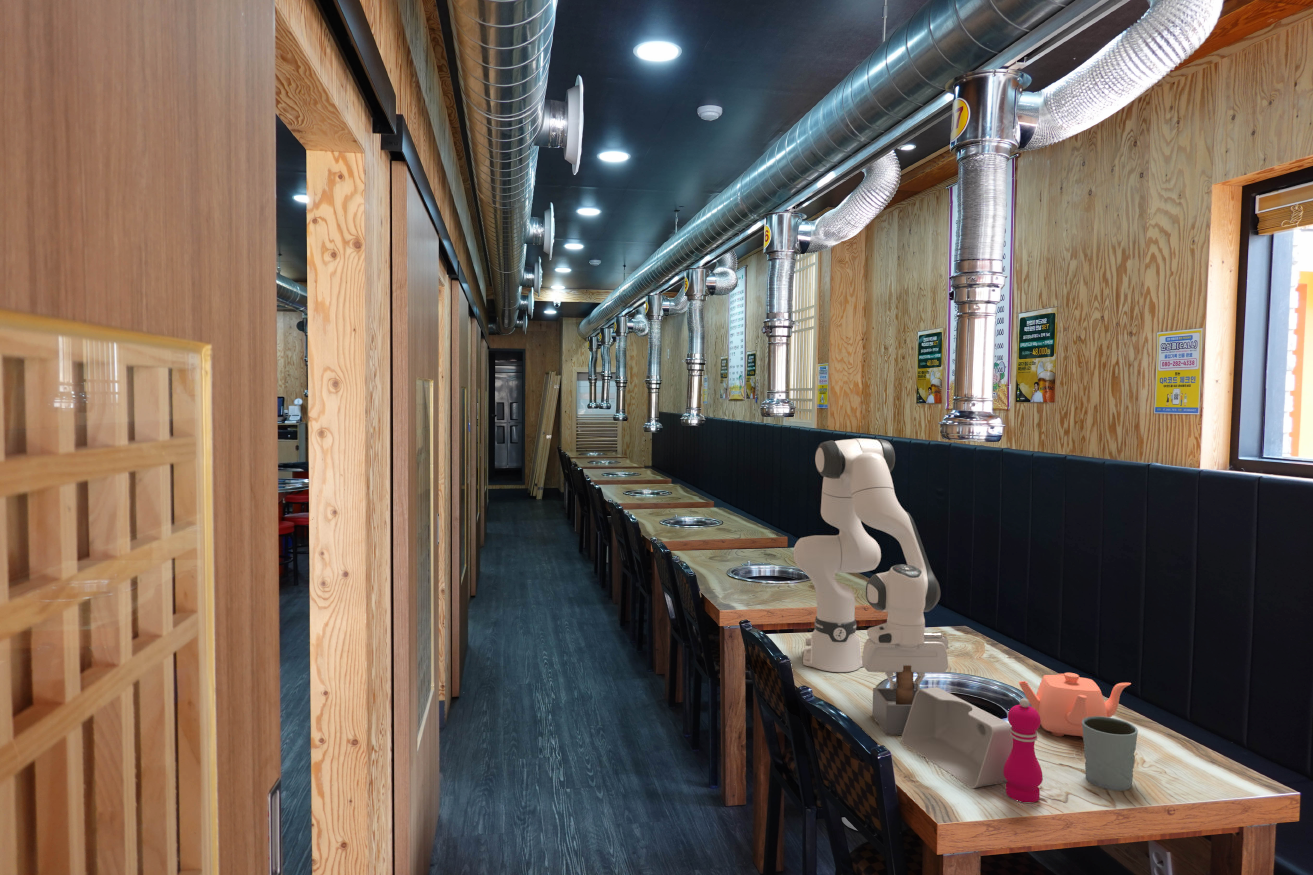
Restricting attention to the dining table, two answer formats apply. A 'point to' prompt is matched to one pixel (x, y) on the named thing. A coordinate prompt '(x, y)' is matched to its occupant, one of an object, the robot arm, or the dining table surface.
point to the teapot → (1070, 702)
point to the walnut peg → (904, 686)
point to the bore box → (890, 711)
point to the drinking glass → (1109, 752)
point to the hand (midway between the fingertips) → (904, 689)
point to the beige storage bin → (958, 737)
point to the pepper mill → (1023, 754)
